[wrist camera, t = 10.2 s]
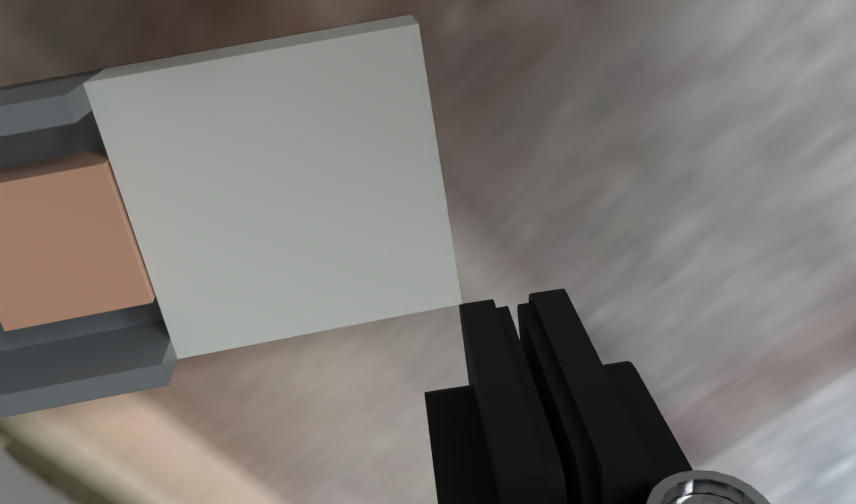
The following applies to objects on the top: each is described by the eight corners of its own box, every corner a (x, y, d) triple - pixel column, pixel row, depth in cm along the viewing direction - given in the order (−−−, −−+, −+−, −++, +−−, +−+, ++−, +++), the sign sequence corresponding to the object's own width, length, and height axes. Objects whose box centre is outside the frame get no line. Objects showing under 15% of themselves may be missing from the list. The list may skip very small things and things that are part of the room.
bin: (-122, 108, 30) (-202, 142, 26) (105, 68, 31) (65, 94, 26) (-5, 362, 35) (-55, 428, 31) (189, 325, 36) (168, 384, 31)
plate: (105, 68, 31) (82, 83, 28) (411, 14, 31) (418, 23, 28) (189, 325, 36) (177, 359, 33) (452, 274, 36) (462, 303, 33)
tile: (-29, 173, 31) (-58, 193, 28) (120, 145, 31) (103, 163, 29) (27, 303, 33) (5, 331, 31) (164, 276, 33) (152, 302, 31)
